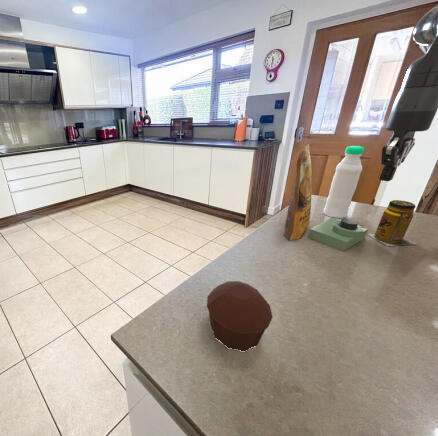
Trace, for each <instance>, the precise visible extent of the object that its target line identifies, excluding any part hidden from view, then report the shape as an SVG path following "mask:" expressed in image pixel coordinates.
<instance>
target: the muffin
mask: <svg viewBox="0 0 438 436" xmlns="http://www.w3.org/2000/svg"><path fill="white" fill-rule="evenodd" d="M206 308H207V310H208V315H209V321H210V322H209V323H210V328H211V327H212V328H211V330H212V329H213V330H212V332H213V331H214V332H213V335H215V336H214V339H215V338H217V339H218V340H220V341H221V342H222V343H223V344H224V345H226V346H227V347H228V348H232V349H238V350H241V351H246V350H248V349H249V348H251V347H254V346H257V347H258V345H259V343H260V341H261V339H262V337H263V335H264V333H265V331H266V329H268V328H269V326H270V325H271V322H272V320H273V317H274V316H273V312H272V309H271V305H270V304H269V302H268V301H267V300H266V298H264V296H263V295H262V293H261V292H260V291H259V290H258V289H257V288H255V287H254V286H252V285H250V284H249V283H247V282H242V281H238V280H229V281H226V282H222V283H221V284H219V285H217V286H215V287H214V288H213V289H212V291H210V293H209V294H208V295H207V298H206ZM223 344H222V345H223ZM224 345H223V346H224ZM248 351H249V350H248ZM246 352H247V351H246Z"/></svg>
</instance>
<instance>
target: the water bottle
mask: <svg viewBox="0 0 438 436" xmlns="http://www.w3.org/2000/svg"><path fill="white" fill-rule="evenodd" d="M364 151H365V147H364V146H361V145H349V146H347V147H346V148H345V150H344V155H345V156H344V157H343V158H342V159H341V161H340V162H339V163H338V164H337V165H336V167H335V173H334V174H333V177H332V181H331V184H330V188H329V193H328V195H327V199H326V201H325V202H326V203H325V206H324V208H323V214H324V215H325V216H328V217H330V218H333V219H345V218H346V217H347V216H348V213H349V210H350V209H349V208H350V206H351V204H352V198H353V196H354V194H355V191H356V190H357V186H358V183H359V180H360V176H361V173H362V171H363V165H362V161H361V156H363V154H364Z"/></svg>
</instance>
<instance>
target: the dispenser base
mask: <svg viewBox="0 0 438 436" xmlns="http://www.w3.org/2000/svg"><path fill="white" fill-rule="evenodd" d="M340 222H341V220H339V219H337V218H333V217H330V218H329V219H327V220H325V221H323V222H321V223H319V224H317V225H315V226H312V227H311V228H309V231H308V235H307V238H308V239H309V240H313V241H316V242H317V243H321V244H323V245H326V246H329V247H331V248H333V249H336V250H339V251H341V252H346V251H347V250H349V249H351V248H352V247H353V246H355V245H356V244H358V243H360V242H362V241H363V240H365V238H366V236H367V234H368V231H369V228H366V227H363V226H361V225H359V224H358V226H357V228H356V230H349V229H344V228H342V227H340V226H339V225H340Z"/></svg>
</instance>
